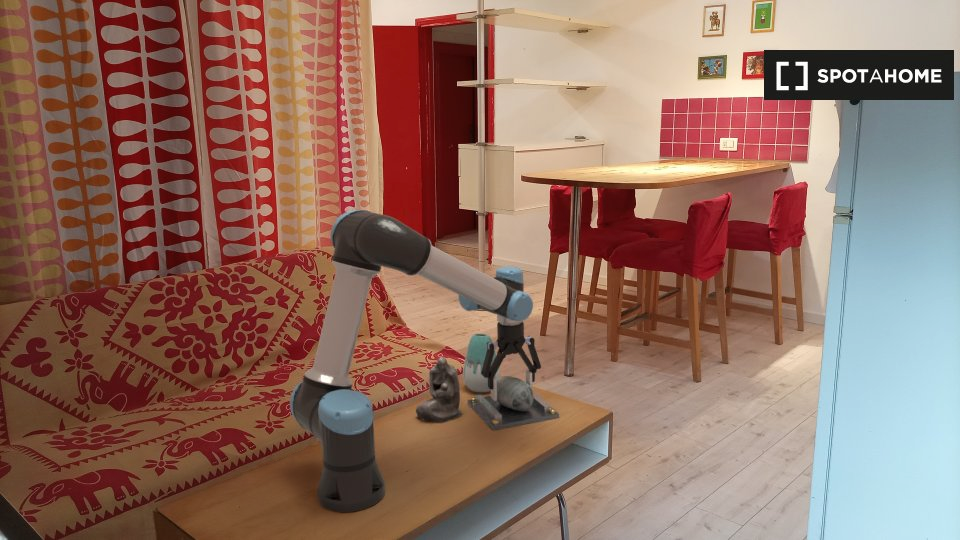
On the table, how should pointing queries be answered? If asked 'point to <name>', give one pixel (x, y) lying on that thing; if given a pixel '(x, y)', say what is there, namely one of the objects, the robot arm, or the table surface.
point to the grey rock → (514, 393)
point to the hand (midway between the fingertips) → (511, 395)
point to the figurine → (441, 394)
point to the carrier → (510, 412)
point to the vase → (477, 363)
